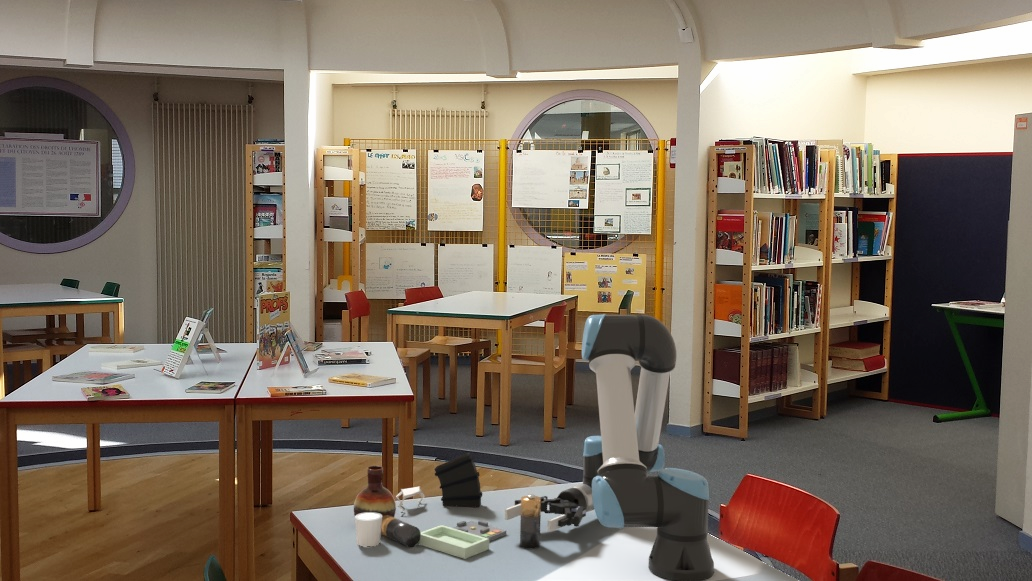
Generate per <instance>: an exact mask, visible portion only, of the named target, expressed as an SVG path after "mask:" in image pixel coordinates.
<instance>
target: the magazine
mask: <svg viewBox="0 0 1032 581" xmlns="http://www.w3.org/2000/svg"><path fill="white" fill-rule="evenodd" d="M474 458H475V457H474V455H472V454H471V453H470V452H468V453H465V454H463V455H460V456H458V457H455V458H452V459H451V460H448V461H446V462H444V463H442V464H439V465H437V466H435V467H434V471H435V473H434V476H435V477H437V478H438V480H439V483H440V485H439V490H441V494H442V496H441V497H440V501H441V502H442V507H444V506H445V507H446V506H447V507H460V508H461V507H462V508H479V509H480V508H481V505H482V497H483V491H481V483H480V478H479V476H480V471H478V470H477V467H476V464H475V461H474V460H473V459H474Z"/></svg>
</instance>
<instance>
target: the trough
mask: <svg viewBox="0 0 1032 581" xmlns="http://www.w3.org/2000/svg"><path fill="white" fill-rule="evenodd" d="M420 533H421V535H420V540H419V542H418V543H417V544H416V545H419V544H420V546H422V545H423V546H424V547H426V548H428V549H429V548H430V549H433V550H435V551H439V552H442V553H444V554H448V555H451V556H455V557H457V558H461V559H464V560H466V559H468V558H470V557H474V556H476V555H478V554H481V553H482V552H486V551H487V550H490V541H489V539H488V538H485V537H481V536H478V535H475V534H471V533H468V532H464V531H461V530H457V529H454V528H453V527H450V526H446V525H443V524H441V525H438V526H435V527H432V528H430V529H426V530H423V531H420Z"/></svg>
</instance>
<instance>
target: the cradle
mask: <svg viewBox="0 0 1032 581" xmlns="http://www.w3.org/2000/svg"><path fill="white" fill-rule="evenodd" d="M452 528H454V529H457V530H461V531H464V532H468V533H471V534H475V535H478V536H481V537H485V538H488V539H489V542H491V541H493V540H496V539H498V538H501V537H504V536H506V535H507V529H506V530H505V529H502V528H498V527H495V526H491V525H489V522H487V521H484V520H478V522H477V521H473V520H470V521H468V522H467V521H466V520H462V521H460V522H457V523H456V526H453V527H452Z"/></svg>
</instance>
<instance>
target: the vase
mask: <svg viewBox="0 0 1032 581" xmlns="http://www.w3.org/2000/svg"><path fill="white" fill-rule="evenodd" d="M366 469H367V471H366V472H367V486H366V487H365V488H363V489H362V490H361V491H360V492H358V494H357V495H356V497H355V500H354V503H353V515H354V517H355V516H356V515H357V514H360V513H365V512H375V513H380V514H381V515H382V517H383V516H385V515H389V516H392V517H394V518H395V516H396V512H397V506H396V505H397V503H396V499H395V497H394V495H393V493H392V492H391V491H390V490H389V489H388V488H386V487H384V486H383V475H384V474H383V473H384V472H383V471H384V467H383V466H380V465H370V466H368V467H367V468H366Z"/></svg>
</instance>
